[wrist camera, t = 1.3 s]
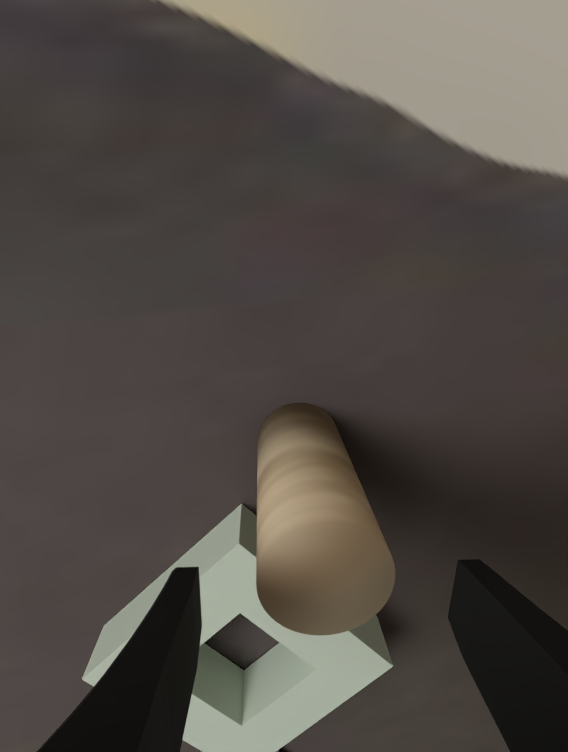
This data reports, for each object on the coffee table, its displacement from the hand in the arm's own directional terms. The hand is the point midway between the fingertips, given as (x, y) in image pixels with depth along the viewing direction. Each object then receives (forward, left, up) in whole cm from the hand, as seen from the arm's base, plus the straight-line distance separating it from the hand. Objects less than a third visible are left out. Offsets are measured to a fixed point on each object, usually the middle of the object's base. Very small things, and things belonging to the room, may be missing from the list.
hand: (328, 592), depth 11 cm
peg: (0, 0, -9) cm, 9 cm away
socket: (-6, +10, -9) cm, 15 cm away
